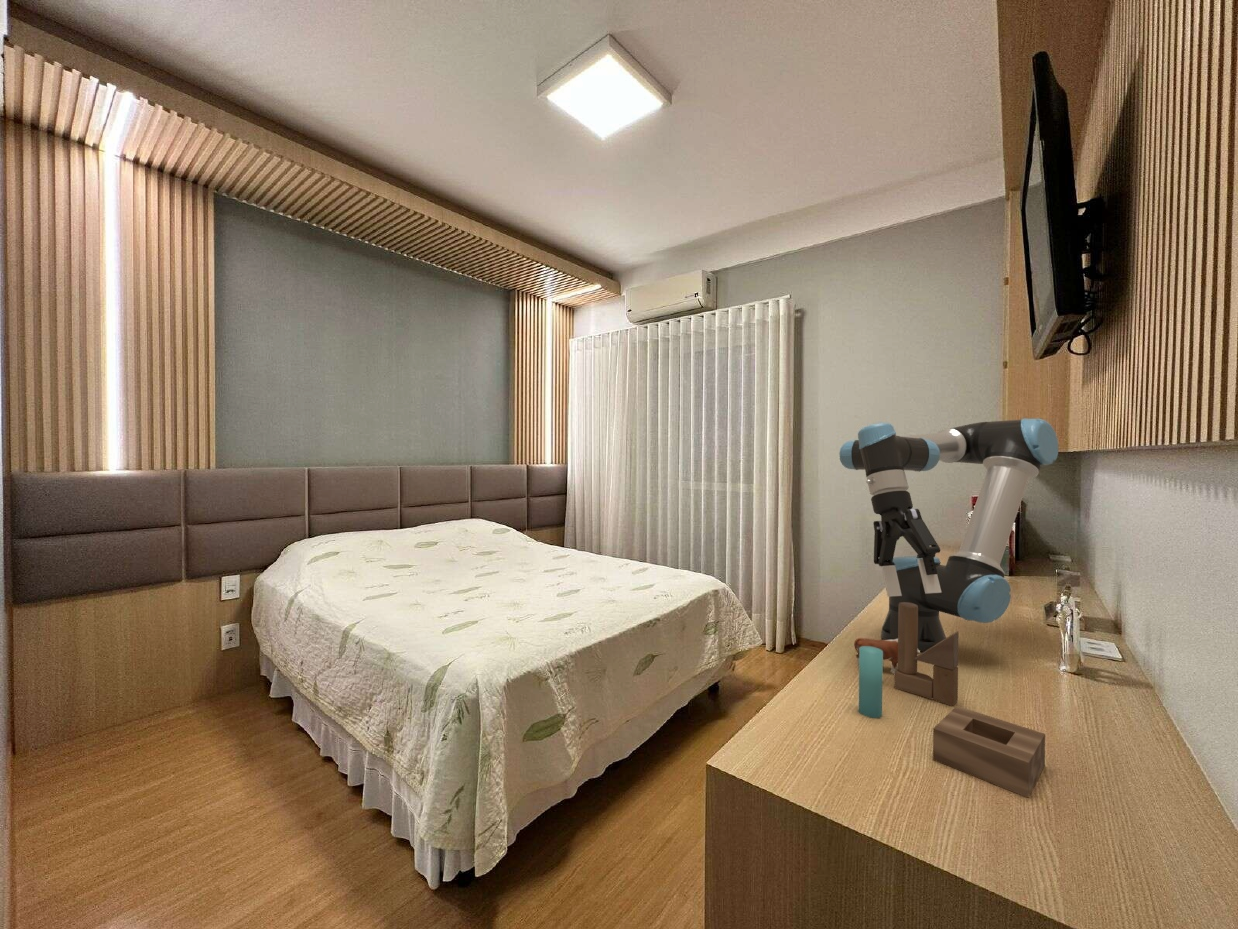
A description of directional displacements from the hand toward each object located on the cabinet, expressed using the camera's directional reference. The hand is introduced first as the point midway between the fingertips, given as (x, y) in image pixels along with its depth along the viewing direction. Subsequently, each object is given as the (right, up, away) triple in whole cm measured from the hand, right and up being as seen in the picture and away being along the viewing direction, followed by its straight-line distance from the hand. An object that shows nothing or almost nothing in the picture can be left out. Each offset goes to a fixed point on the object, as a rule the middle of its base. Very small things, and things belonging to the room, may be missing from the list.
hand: (912, 595), depth 102 cm
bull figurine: (+1, -21, +13) cm, 25 cm away
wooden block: (+3, -21, +2) cm, 22 cm away
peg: (-12, -21, -6) cm, 25 cm away
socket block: (-1, -21, -22) cm, 30 cm away
